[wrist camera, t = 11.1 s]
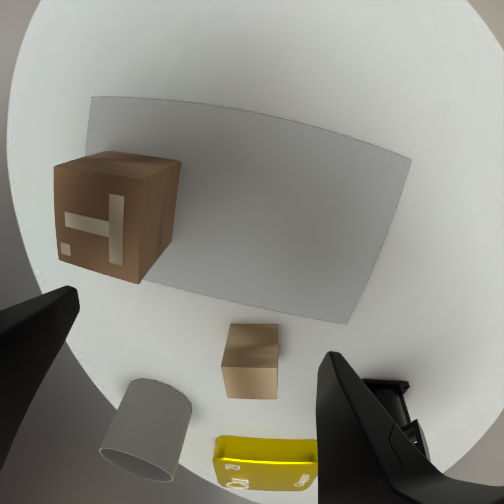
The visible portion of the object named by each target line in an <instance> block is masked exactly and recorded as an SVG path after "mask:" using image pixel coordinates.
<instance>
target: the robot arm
mask: <svg viewBox="0 0 504 504" xmlns="http://www.w3.org/2000/svg"><path fill="white" fill-rule="evenodd" d="M79 310H80V304H79V298H78V292H77V289H76V288H74V287H71V286H64V287H61V288H58V289H56V290H53V291H50V292H48V293H45V294H42V295H40V296H37V297H34V298H32V299H29V300H27V301H24V302H21V303H19V304H16V305H14V306H12V307H9V308H6V309H4V310H1V311H0V471H1V470H2V468H3V465H4V463H5V460H6V458H7V455H8V453H9V450H10V448H11V445H12V443H13V441H14V438H15V436H16V434H17V431H18V428H19V427H20V425H21V422H22V420H23V418H24V416H25V414H26V412H27V410H28V408H29V406H30V404H31V402H32V400H33V398H34V396H35V394H36V392H37V390H38V388H39V386H40V384H41V382H42V381H43V379H44V377H45V375H46V373H47V371H48V370H49V368H50V366H51V364H52V363H53V361H54V359H55V357H56V356H57V354H58V352H59V350H60V349H61V347H62V345H63V344H64V342H65V340H66V338H67V336H68V333H69V331H70V329H71V327H72V325H73V323H74V321H75V319H76V317H77V315H78V313H79ZM409 387H410V385H409V383H408V382H394V381H377V380H361V378H360V377H359V376H358V375H357V373H356V372H355V371H354V370H353V368H352V367H351V366H350V365H349V363H348V362H347V361H346V360H345V358H344V357H343V356H342V354H341V353H339V352H333V351H329V352H327V354H326V355H325V357H324V359H323V361H322V363H321V365H320V367H319V370H318V381H317V398H316V429H317V456H318V504H504V486H501V487H500V486H488V485H482V484H477V483H471V482H466V481H461V480H456V479H453V478H449V477H447V476H445V475H444V474H442V473H441V472H440V471H439V470H438V469H437V468H436V467H435V466H434V465H433V464H432V463H431V461H430V455H429V449H428V446H427V442H426V439H425V436H424V433H423V430H422V428H421V426H420V424H419V422H418V420H417V419H416V420H414V421H412V422H411V420H410V417H409V413H408V410H407V407H406V404H405V400H404V397H403V394H404V393H405V392H406V391H407V389H408V388H409ZM416 441H417V443H415V444H414V442H416ZM0 504H1V503H0Z"/></svg>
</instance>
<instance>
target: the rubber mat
mask: <svg viewBox="0 0 504 504" xmlns="http://www.w3.org/2000/svg"><path fill="white" fill-rule="evenodd" d="M103 151H115V152H123V153H131V154H138V155H145V156H152V157H159V158H165V159H172V160H178V161H182V162H181V169H180V176H179V183H178V191H177V198H176V207H175V215H174V225H173V235H172V242H171V243H170V245H169V246H168V247H167V248H166V250H165V251H164V252H163V253H162V255H161V256H160V257H159V258H158V260H157V261H156V262H155V263H154V265H153V266H152V267H151V269H150V270H149V271H148V272H147V274H146V275H145V276H144V278H143V280H147V281H151V282H154V283H158V284H162V285H166V286H169V287H173V288H177V289H181V290H185V291H189V292H193V293H197V294H201V295H205V296H210V297H214V298H218V299H222V300H227V301H231V302H235V303H240V304H244V305H249V306H253V307H258V308H263V309H267V310H272V311H277V312H282V313H287V314H292V315H297V316H302V317H307V318H313V319H318V320H324V321H329V322H335V323H340V324H346V325H347V324H348V322H349V320H350V317H351V315H352V313H353V311H354V309H355V307H356V305H357V303H358V301H359V299H360V297H361V294H362V292H363V290H364V288H365V286H366V283H367V281H368V279H369V276H370V274H371V272H372V270H373V267H374V265H375V262H376V260H377V258H378V255H379V253H380V250H381V248H382V245H383V243H384V240H385V238H386V235H387V232H388V230H389V227H390V224H391V222H392V219H393V216H394V213H395V210H396V208H397V205H398V202H399V199H400V196H401V193H402V190H403V187H404V184H405V180H406V177H407V174H408V171H409V167H410V164H411V160H410V159H408V158H405V157H403V156H400V155H398V154H395V153H393V152H390V151H388V150H385V149H382V148H379V147H377V146H374V145H371V144H368V143H365V142H362V141H359V140H356V139H353V138H350V137H347V136H344V135H341V134H337V133H334V132H331V131H327V130H324V129H320V128H317V127H313V126H309V125H305V124H302V123H298V122H294V121H290V120H285V119H281V118H277V117H272V116H268V115H263V114H258V113H253V112H248V111H242V110H237V109H231V108H225V107H219V106H212V105H205V104H197V103H189V102H180V101H170V100H159V99H144V98H122V97H92V100H91V106H90V114H89V122H88V131H87V142H86V155H85V156H89V155H92V154H96V153H100V152H103Z"/></svg>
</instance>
